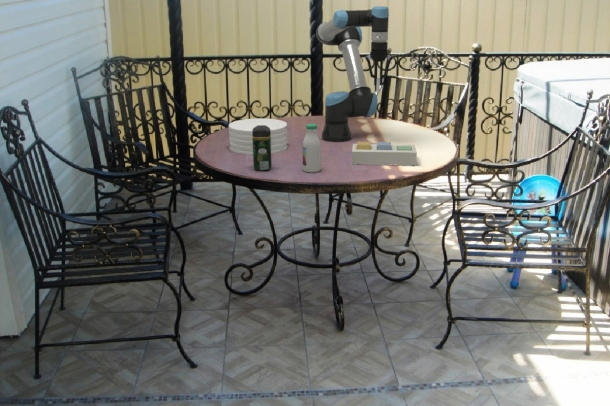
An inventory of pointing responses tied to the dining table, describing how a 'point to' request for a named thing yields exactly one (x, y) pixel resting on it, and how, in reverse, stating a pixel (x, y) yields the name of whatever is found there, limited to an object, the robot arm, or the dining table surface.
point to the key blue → (383, 145)
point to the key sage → (404, 148)
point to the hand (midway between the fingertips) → (377, 92)
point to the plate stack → (243, 135)
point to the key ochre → (364, 145)
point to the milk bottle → (311, 150)
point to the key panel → (384, 156)
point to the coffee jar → (261, 148)
